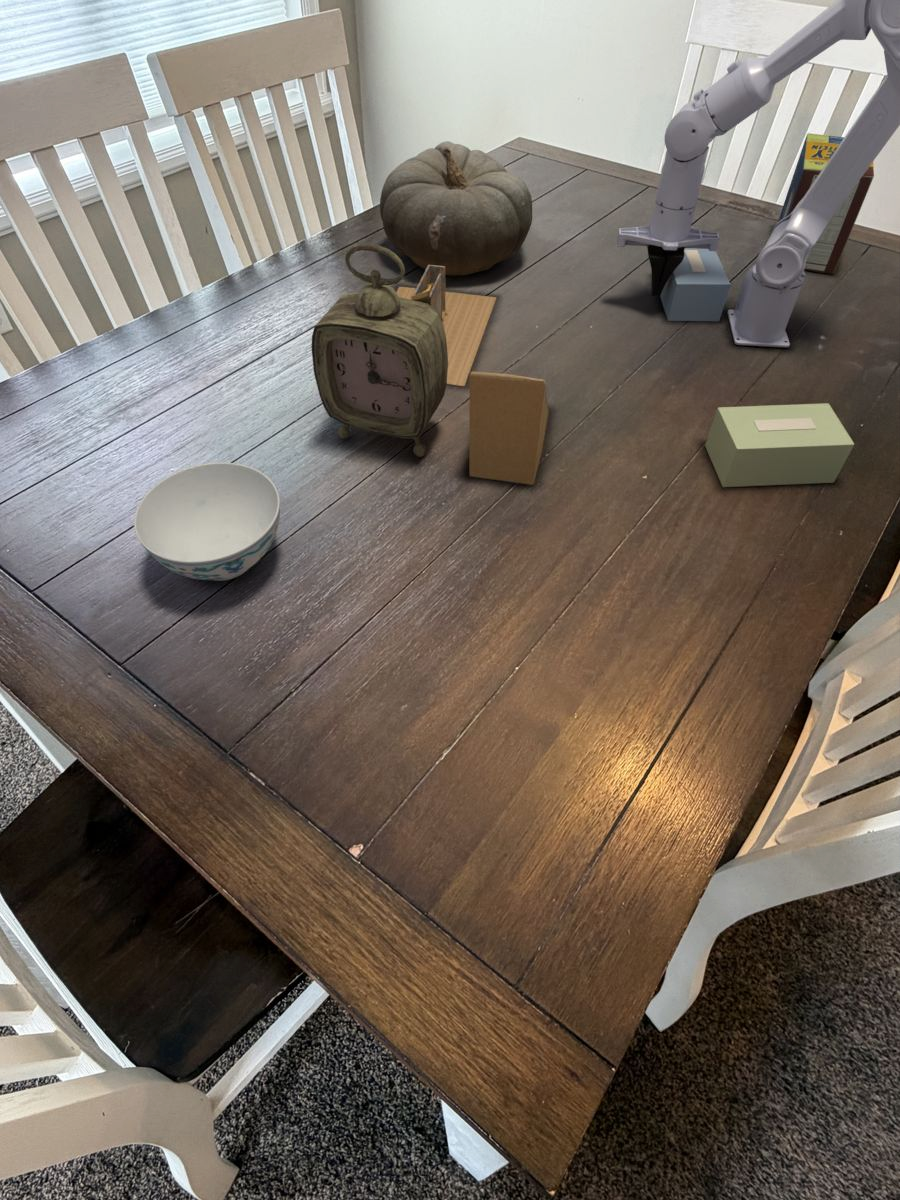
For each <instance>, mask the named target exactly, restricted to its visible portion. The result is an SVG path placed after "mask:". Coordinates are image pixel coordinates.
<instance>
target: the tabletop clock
mask: <svg viewBox="0 0 900 1200" xmlns="http://www.w3.org/2000/svg"><path fill="white" fill-rule="evenodd" d="M361 251H366V252H367V251H368V252H375V253H379V254H382V255H385V256H387V257H389V258H391V259H392V260H393V261H394V262H395V263H396V264H397V265H398V267H399V269H400V274H399V275H398V276H396V277H390V278H383V277H381V276H382V275H381V272H380V271H379V270H378V269H373V270H372V271H371V272H370V275H368V274H364V273H362V272H361V271H358V270H357V269H356V268H355V267H353V266H352V264H351V262H350V259H351V256H352V255H353V254H355V253H356V252H361ZM344 262H345V265H346V267H347V269H348V270H349V271H350V273H352V275H353V276H354V277H356V278H357V279H360V280H361V281H363V282H366V283H367V284H365V285H364V286H363V287H362V288H361V289H360V290H359V291H355V292H349V293H344V294H342V295H340V298H338V299H337V300H336V302H335V303H334V304H333V305H332V306H331V307H330V308H329V309H328V310H327V312H326V313H325V314H324V315H323V316H322V317H321V318H320V320H318V322H317V323H316V324H315V325H314V328H313V331H312V334H311V357H312V367H313V369H312V370H313V374H314V378H315V383H316V387H317V392H318V394H319V395H318V396H319V398H320V402H321V404H322V406H323V408H324V410H325V411H326V414H327V416H328V417H330V418H331V419H333V420H334V421H336V422H338V423H340V424H343V425H341V426H340V427H339V428H338V429H337V434H338V437H340V439H347V438H350V435H351V430H350V427H352V428H355V429H357V430H360V431H361V430H362V431H364V432H367V433H372V434H375V435H381V436H387V437H393V438H399V439H413V441H414V443H415V445H414V447H413V453H414V455H415V456H417V457H419V458H420V457H423V456H425V455H426V453H427V447H426V446H425V444H423V443H421V441H420V440H421V439H420V437H421V435H422V433H423V432H424V430H425V429H426V427H427V426H428V424H429V423H430V421H431V419H432V417H433V416H434V414H435V412H436V411H437V409H438V407H440V405H441V402H443V401H442V400H443V399H444V396H445V393H446V389H447V386H448V384H447V372H448V354H447V342H446V335H445V330H444V326H443V322H442V319H441V317H440V314H439V312H438V310H437V309H435V308H433V307H432V306H430V305H428V304H425V303H422V302H418V301H414V300H410V299H406V298H402V297H398V295H397V293H396V292H397V290H395V289H394V287H392V285H396V284H398V283H400V282H401V281H402V280H403V279H404V277H405V274H406V268H405V264H404V263H403V261H402V259H401V257H399V256H398V255H397V254H396V253H395V252H393V251H392V250H391V249H390V248H387V247H385V246H382V245H379V244H373V243H358V244H355V245H353V246H351V247H350V248H349V249H348V250H347V251H346V254H345V256H344Z"/></svg>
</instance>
